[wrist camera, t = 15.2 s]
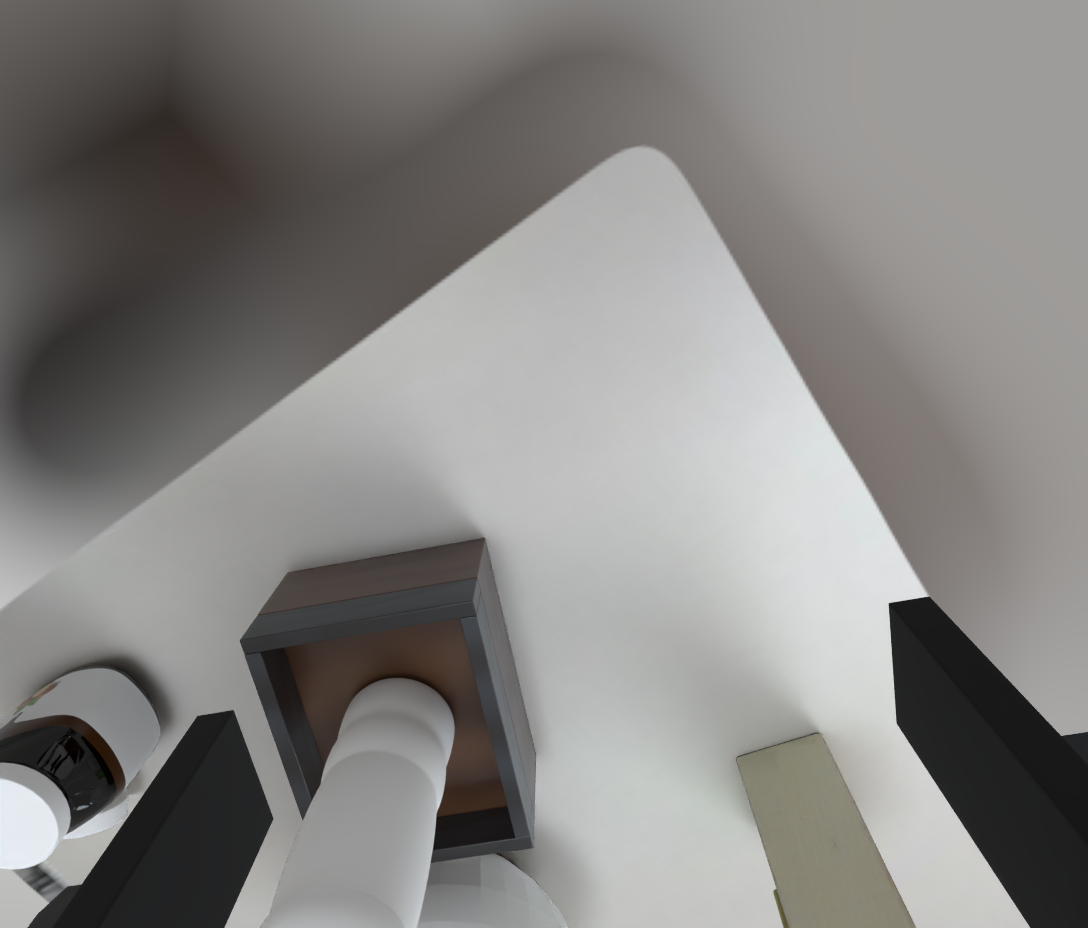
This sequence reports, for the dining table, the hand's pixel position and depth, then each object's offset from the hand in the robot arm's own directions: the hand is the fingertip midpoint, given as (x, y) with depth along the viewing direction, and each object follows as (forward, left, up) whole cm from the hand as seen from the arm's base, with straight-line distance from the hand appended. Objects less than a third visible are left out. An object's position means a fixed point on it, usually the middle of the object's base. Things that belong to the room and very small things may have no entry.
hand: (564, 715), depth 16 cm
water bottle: (+20, -14, -31) cm, 39 cm away
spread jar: (+21, -38, -37) cm, 57 cm away
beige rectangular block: (+35, +11, -37) cm, 52 cm away
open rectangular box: (+20, -14, -37) cm, 44 cm away
